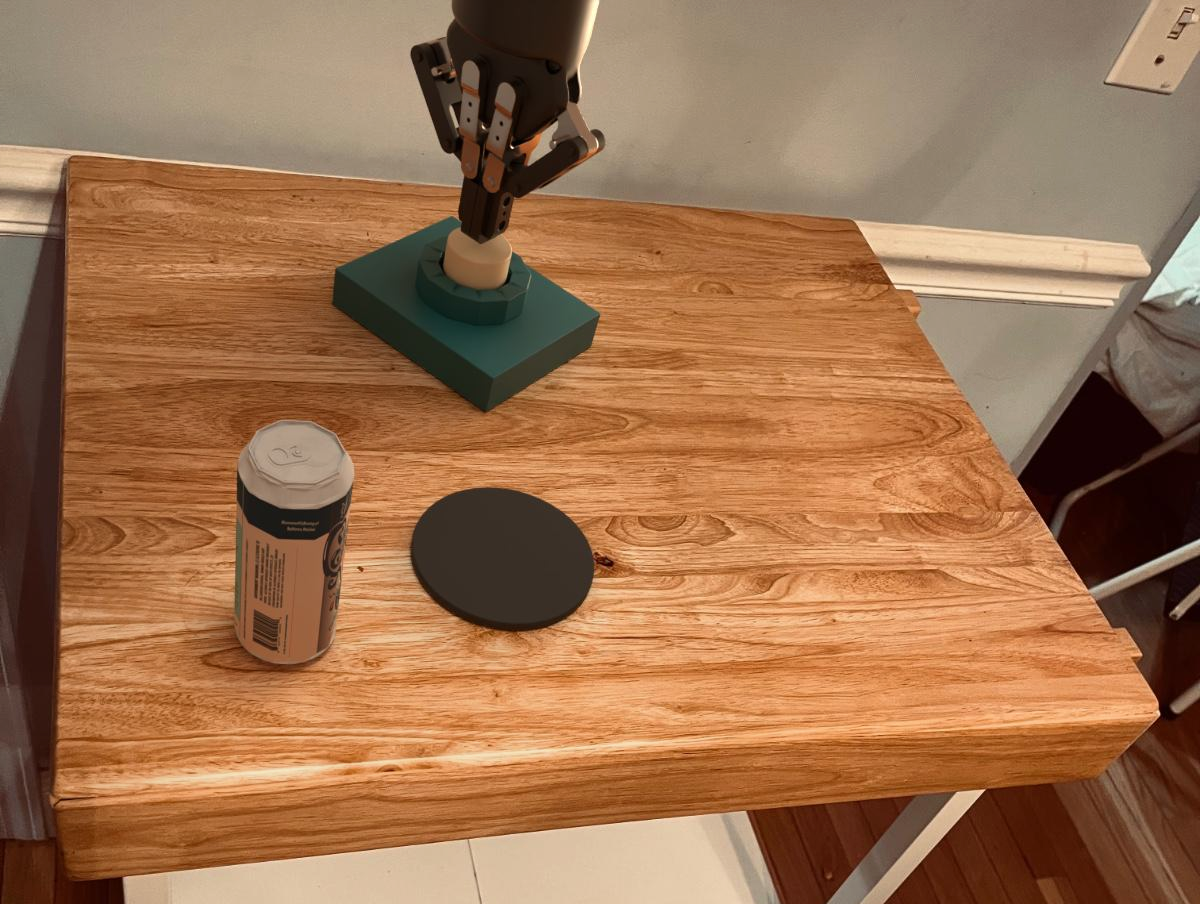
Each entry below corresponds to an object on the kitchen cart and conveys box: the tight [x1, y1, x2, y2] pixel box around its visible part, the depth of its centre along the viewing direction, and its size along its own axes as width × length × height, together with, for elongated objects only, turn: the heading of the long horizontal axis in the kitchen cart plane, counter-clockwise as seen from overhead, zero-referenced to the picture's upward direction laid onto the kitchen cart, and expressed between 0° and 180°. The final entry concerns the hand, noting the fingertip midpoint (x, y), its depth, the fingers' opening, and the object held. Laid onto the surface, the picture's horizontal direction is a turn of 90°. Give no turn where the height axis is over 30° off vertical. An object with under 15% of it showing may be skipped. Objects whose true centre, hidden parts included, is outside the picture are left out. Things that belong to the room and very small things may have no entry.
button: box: [443, 227, 513, 290], centre depth 74 cm, size 4×4×2 cm
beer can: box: [233, 419, 355, 665], centre depth 54 cm, size 5×5×12 cm
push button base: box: [331, 215, 601, 413], centre depth 76 cm, size 13×11×4 cm
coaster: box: [410, 486, 596, 631], centre depth 64 cm, size 10×10×1 cm
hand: (480, 234), depth 72 cm, fingers closed
